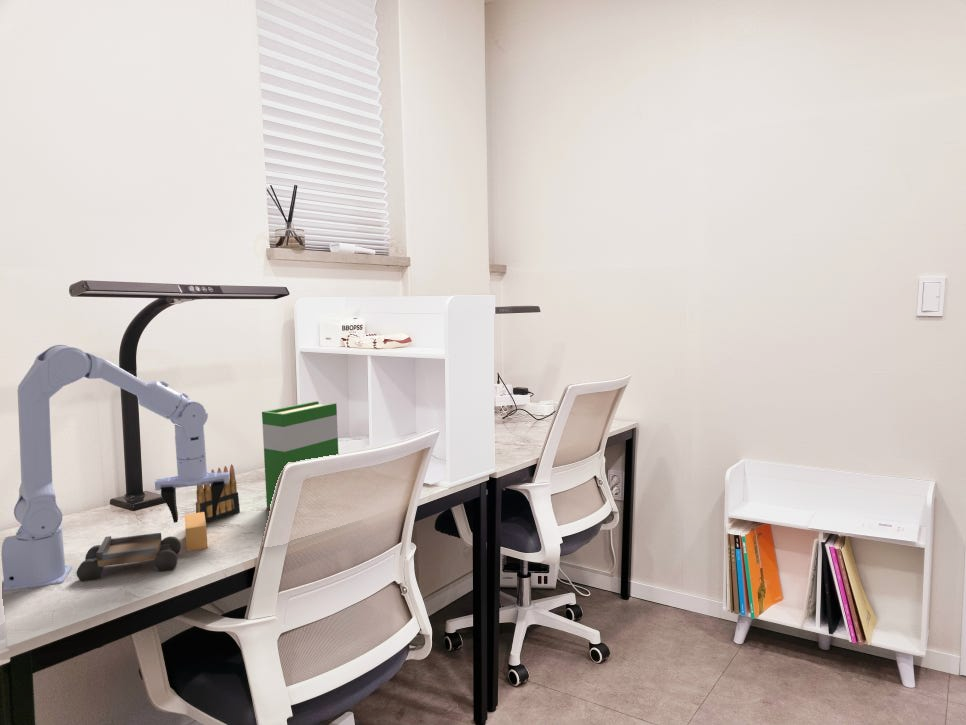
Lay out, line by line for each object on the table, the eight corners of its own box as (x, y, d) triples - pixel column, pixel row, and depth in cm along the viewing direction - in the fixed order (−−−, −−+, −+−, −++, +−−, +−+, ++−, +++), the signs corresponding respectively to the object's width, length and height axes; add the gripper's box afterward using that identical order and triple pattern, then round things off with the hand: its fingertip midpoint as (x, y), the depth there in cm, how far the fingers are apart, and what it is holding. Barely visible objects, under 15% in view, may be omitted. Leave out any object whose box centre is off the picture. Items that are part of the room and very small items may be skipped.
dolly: (77, 584, 129) (75, 555, 129) (87, 566, 138) (85, 539, 137) (177, 570, 135) (175, 543, 134) (181, 554, 143) (179, 528, 143)
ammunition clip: (235, 511, 170) (232, 462, 169) (240, 512, 169) (237, 463, 168) (196, 524, 162) (192, 473, 160) (201, 525, 161) (197, 474, 159)
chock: (186, 552, 145) (185, 528, 144) (186, 536, 154) (184, 514, 153) (207, 548, 146) (206, 525, 146) (205, 533, 155) (204, 511, 155)
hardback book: (319, 489, 187) (316, 401, 184) (340, 493, 183) (336, 403, 180) (266, 508, 172) (261, 411, 170) (287, 512, 168) (282, 414, 166)
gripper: (151, 464, 142) (156, 529, 143) (227, 457, 147) (231, 520, 148) (155, 456, 149) (159, 518, 150) (227, 450, 153) (231, 510, 155)
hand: (195, 518), depth 150 cm, fingers open, 7 cm apart
